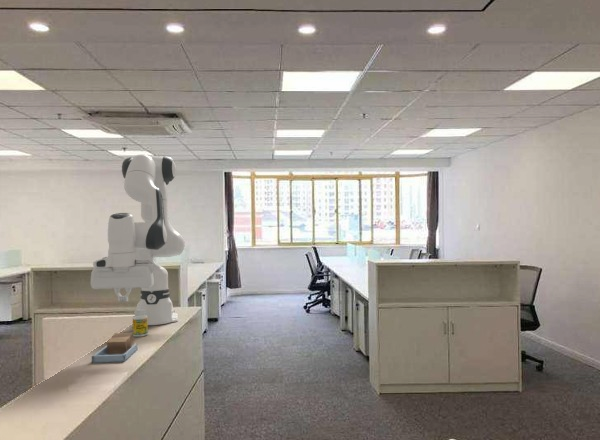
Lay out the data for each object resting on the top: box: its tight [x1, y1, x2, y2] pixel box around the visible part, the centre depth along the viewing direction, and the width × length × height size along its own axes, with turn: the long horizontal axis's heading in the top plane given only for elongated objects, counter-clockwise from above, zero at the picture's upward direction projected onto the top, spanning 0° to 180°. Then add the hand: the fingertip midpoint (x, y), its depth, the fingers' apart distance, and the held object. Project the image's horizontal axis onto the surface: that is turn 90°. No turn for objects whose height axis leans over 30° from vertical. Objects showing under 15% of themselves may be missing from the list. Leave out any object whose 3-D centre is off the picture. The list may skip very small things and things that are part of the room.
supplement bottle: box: [132, 309, 149, 338], centre depth 174 cm, size 5×5×10 cm
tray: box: [91, 343, 139, 364], centre depth 146 cm, size 13×10×2 cm
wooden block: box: [106, 332, 135, 354], centre depth 151 cm, size 4×6×8 cm
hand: (123, 301), depth 154 cm, fingers closed
